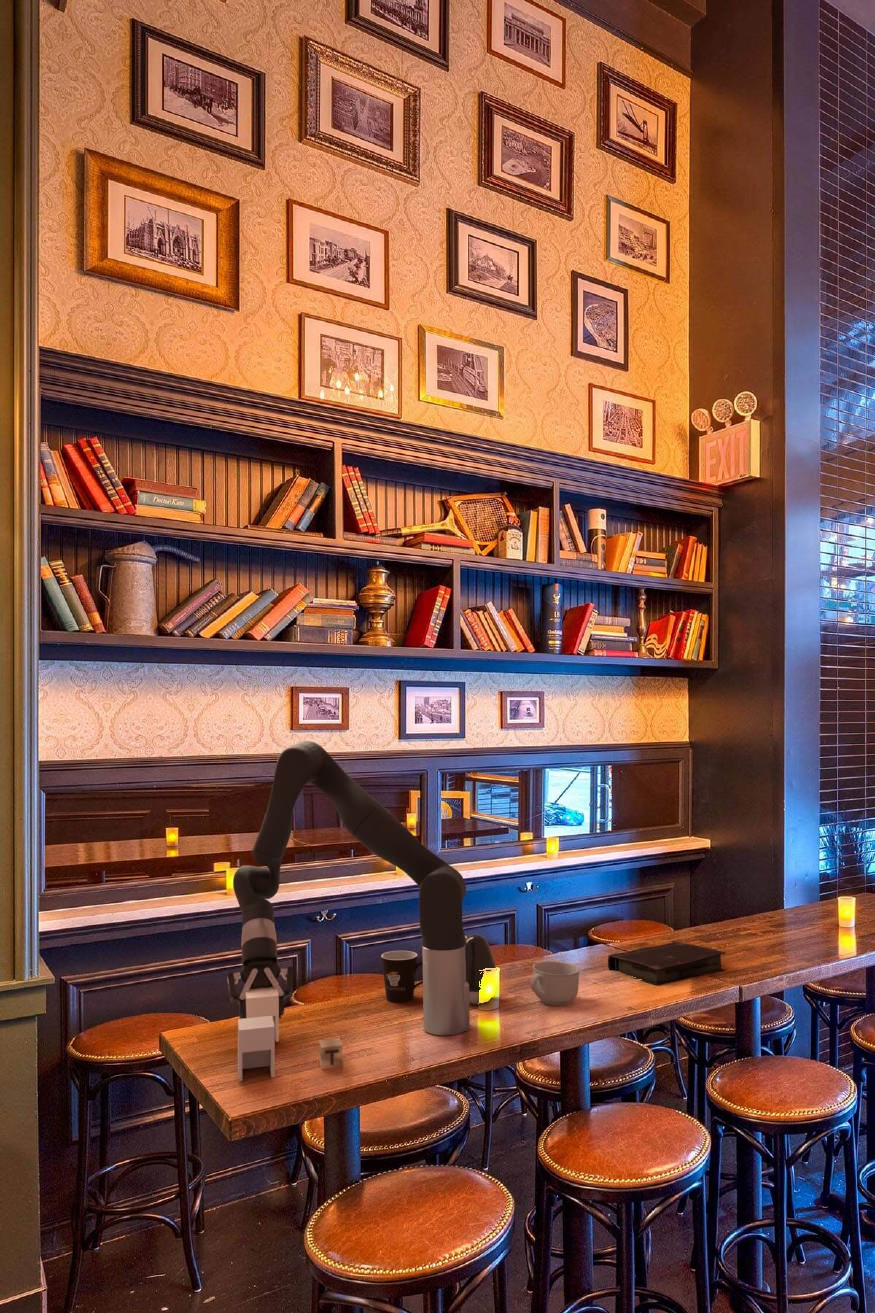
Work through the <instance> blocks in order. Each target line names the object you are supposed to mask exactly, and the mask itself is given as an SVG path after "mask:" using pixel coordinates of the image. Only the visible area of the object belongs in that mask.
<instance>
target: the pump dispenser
mask: <svg viewBox="0 0 875 1313" xmlns="http://www.w3.org/2000/svg"><path fill="white" fill-rule="evenodd" d="M465 958H466V982H467V983H468V984H469V1005H479V1004H478V1003H479V990H480V989H481V988H480V987H479V981H480V984H481V979H482V977H483V974H484V973H483V972H484V971H479V970H483V969H485V968H496V969H497V966H496V962H495V958H494V955H493V952H492V949H491V946H490V945H489V943H488V941H487V940H486V937H484V936H482V935H481V934H477V933H473V934H469V935H468V934H467V933H465ZM486 971H491V970H486ZM481 972H482V973H481ZM480 973H481V974H480ZM480 986H481V985H480Z"/></svg>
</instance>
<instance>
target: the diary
mask: <svg viewBox="0 0 875 1313" xmlns="http://www.w3.org/2000/svg"><path fill="white" fill-rule="evenodd" d="M726 954H727V952H725V951H721V950H717V949H714V948H709V947H707V946H702V945H696V944H692V943H684V942H680V941H674V942H669V943H664V944H660V945H656V946H648V947H642V948H638V949H634V950H631V951H629V950H628V951H625V952H619V953H617V952H616V953H612V954H608V956H607V966H608V967H607V968H608V971H618V972H619V973H620V972H621V973H620V974H623V975H626V976H630V977H632V976H633V977H636V978H633V979H634V980H637V979H642V980H639V981H641V982H643V983H646V984H650V985H652V986H663V985H667V984H668V983H669V984H672V983H671V982H673V983H677V981H678V982H682V981H685V979H686V980H689V979H693V978H699V977H704V976H706V975H709V974H717V973H720V972H725V971H727V969H725V968H722V955H726ZM681 980H682V981H681ZM669 984H668V985H669Z"/></svg>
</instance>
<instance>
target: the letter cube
mask: <svg viewBox="0 0 875 1313" xmlns="http://www.w3.org/2000/svg"><path fill="white" fill-rule="evenodd" d="M343 1060H344V1059H343V1043H342V1041H341V1038H327V1039H320V1040H318V1062H319V1065H320V1069H321V1070H326V1068H328V1069H336V1068H337V1069H338V1068H343V1066H344V1065H343V1062H344V1061H343Z"/></svg>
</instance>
